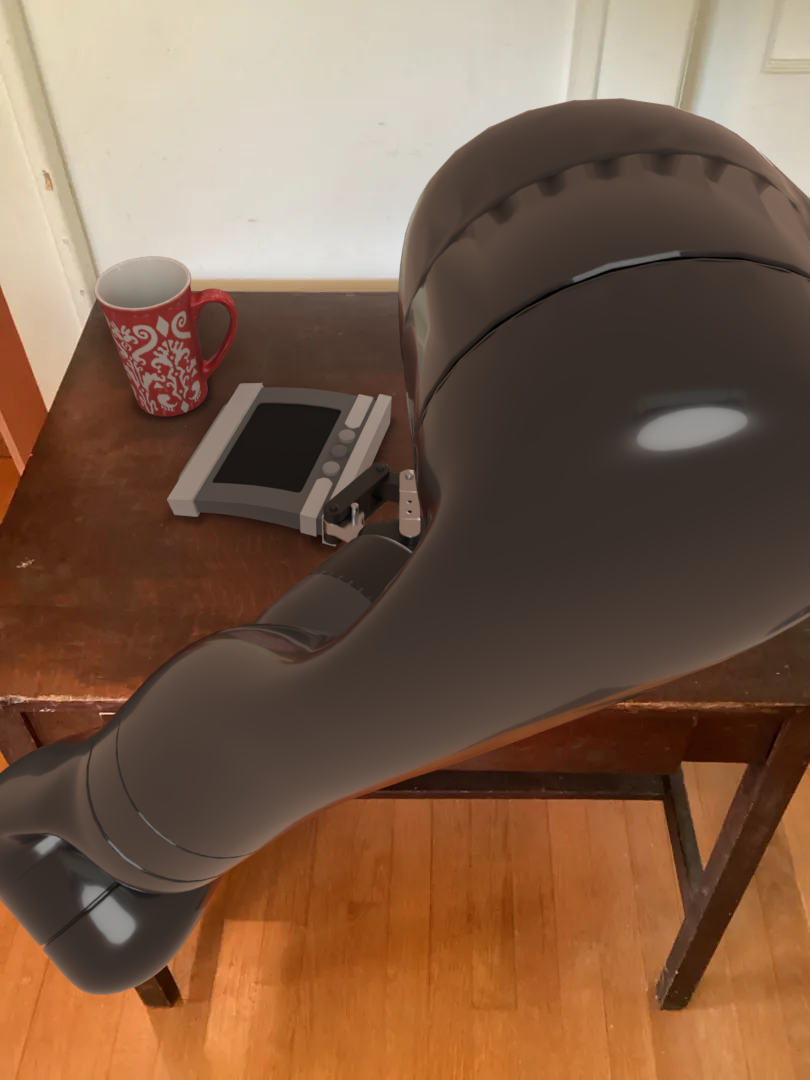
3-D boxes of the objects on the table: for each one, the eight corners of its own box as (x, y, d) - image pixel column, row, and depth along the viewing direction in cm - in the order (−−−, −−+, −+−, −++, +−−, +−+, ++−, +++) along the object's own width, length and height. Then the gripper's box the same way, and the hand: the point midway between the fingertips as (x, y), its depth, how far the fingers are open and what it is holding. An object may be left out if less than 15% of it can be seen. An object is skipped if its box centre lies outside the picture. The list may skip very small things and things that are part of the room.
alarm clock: (335, 520, 80) (158, 476, 82) (335, 555, 84) (165, 512, 86) (391, 396, 91) (234, 360, 94) (389, 432, 95) (237, 396, 97)
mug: (121, 426, 94) (85, 311, 84) (133, 370, 100) (101, 257, 91) (247, 420, 95) (226, 304, 85) (252, 365, 101) (233, 251, 91)
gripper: (460, 659, 44) (622, 492, 54) (242, 524, 50) (424, 395, 60) (446, 751, 49) (596, 583, 59) (249, 618, 55) (416, 486, 65)
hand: (509, 489), depth 60 cm, fingers open, 8 cm apart
